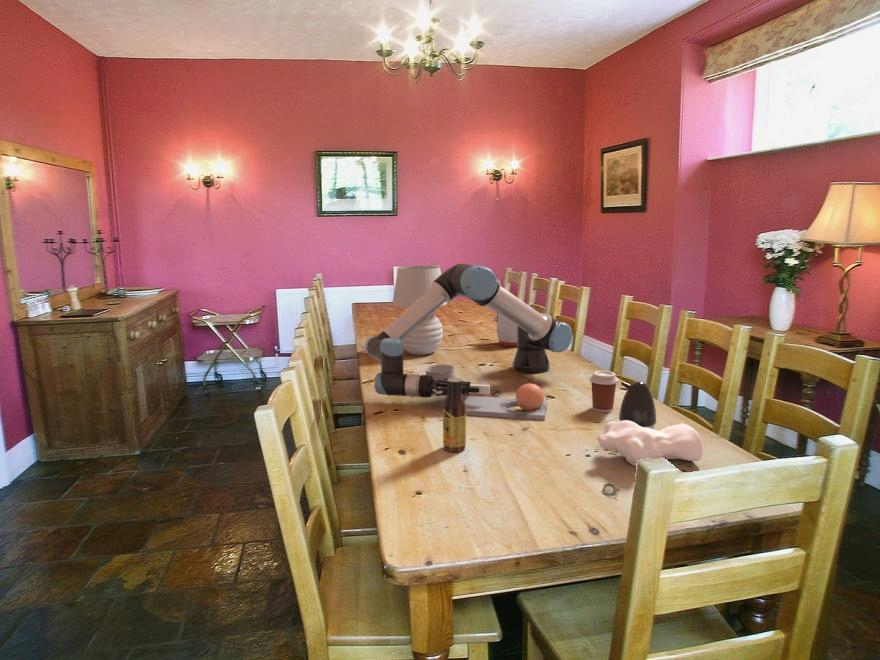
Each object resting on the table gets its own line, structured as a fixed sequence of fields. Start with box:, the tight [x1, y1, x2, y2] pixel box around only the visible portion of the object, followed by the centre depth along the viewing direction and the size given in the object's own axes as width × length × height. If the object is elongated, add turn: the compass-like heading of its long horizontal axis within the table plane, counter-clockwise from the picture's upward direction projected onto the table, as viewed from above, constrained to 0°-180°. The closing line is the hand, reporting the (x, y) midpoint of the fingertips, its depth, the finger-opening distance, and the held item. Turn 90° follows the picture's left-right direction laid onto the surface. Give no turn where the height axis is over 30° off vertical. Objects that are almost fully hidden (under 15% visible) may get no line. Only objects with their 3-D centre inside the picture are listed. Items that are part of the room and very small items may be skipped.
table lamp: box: [392, 265, 448, 356], centre depth 265 cm, size 25×25×40 cm
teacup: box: [424, 363, 456, 381], centre depth 212 cm, size 14×11×8 cm
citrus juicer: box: [492, 312, 517, 347], centre depth 280 cm, size 16×17×20 cm
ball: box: [515, 383, 545, 412], centre depth 184 cm, size 9×9×9 cm
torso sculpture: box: [597, 420, 703, 467], centre depth 146 cm, size 18×10×25 cm
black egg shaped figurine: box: [618, 381, 657, 429], centre depth 164 cm, size 10×10×15 cm
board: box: [464, 395, 548, 421], centre depth 187 cm, size 27×15×2 cm, turn 76°
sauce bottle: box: [442, 377, 467, 453], centre depth 154 cm, size 6×6×20 cm
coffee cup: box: [588, 370, 620, 413], centre depth 185 cm, size 9×9×12 cm
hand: (489, 389), depth 187 cm, fingers closed
